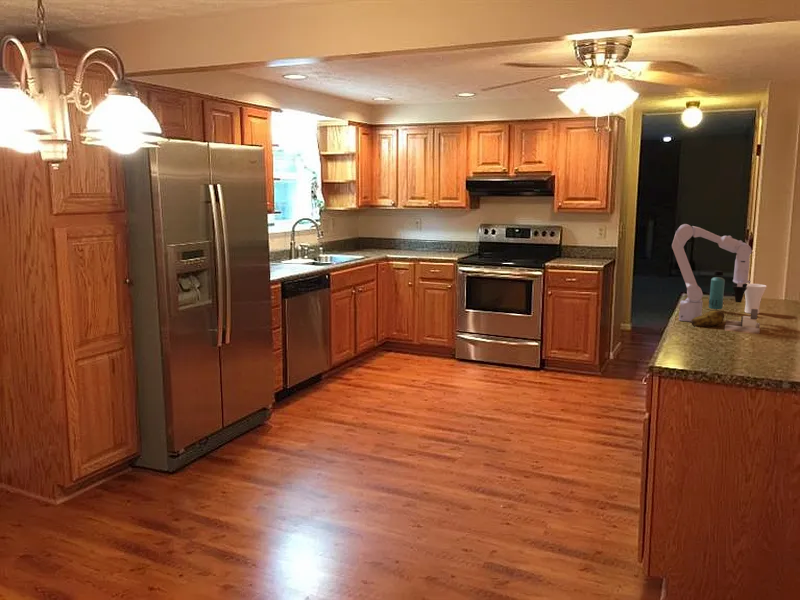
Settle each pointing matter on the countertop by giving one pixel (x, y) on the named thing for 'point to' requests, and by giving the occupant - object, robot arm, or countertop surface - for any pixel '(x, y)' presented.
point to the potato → (709, 319)
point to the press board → (737, 327)
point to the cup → (753, 296)
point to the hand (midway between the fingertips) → (738, 300)
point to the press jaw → (750, 319)
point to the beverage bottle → (716, 291)
